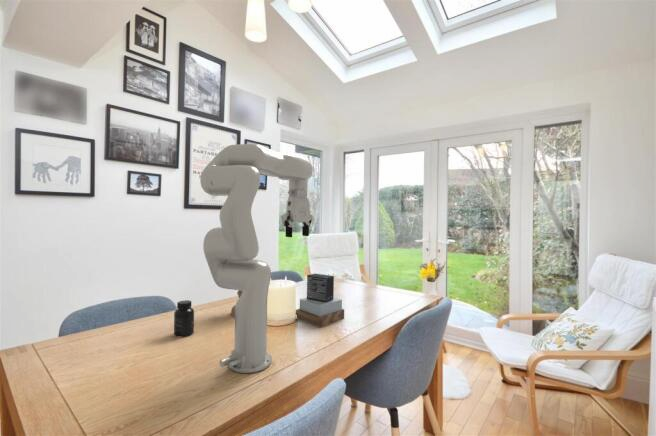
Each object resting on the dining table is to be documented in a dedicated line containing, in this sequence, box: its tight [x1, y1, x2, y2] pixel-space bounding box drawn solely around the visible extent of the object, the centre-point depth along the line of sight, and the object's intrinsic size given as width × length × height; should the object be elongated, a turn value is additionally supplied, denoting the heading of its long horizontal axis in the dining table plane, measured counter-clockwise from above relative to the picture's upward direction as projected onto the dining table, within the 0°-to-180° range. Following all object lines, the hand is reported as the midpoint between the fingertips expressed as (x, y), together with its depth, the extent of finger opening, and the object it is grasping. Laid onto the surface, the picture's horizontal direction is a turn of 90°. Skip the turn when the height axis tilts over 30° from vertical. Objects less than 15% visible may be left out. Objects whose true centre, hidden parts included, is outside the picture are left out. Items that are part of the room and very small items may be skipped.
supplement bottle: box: [173, 300, 195, 338], centre depth 116 cm, size 7×7×12 cm
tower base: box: [295, 308, 345, 328], centre depth 136 cm, size 15×15×4 cm
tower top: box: [299, 296, 343, 317], centre depth 136 cm, size 13×13×4 cm
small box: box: [306, 273, 335, 302], centre depth 136 cm, size 11×6×10 cm, turn 58°
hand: (297, 236), depth 127 cm, fingers open, 9 cm apart
